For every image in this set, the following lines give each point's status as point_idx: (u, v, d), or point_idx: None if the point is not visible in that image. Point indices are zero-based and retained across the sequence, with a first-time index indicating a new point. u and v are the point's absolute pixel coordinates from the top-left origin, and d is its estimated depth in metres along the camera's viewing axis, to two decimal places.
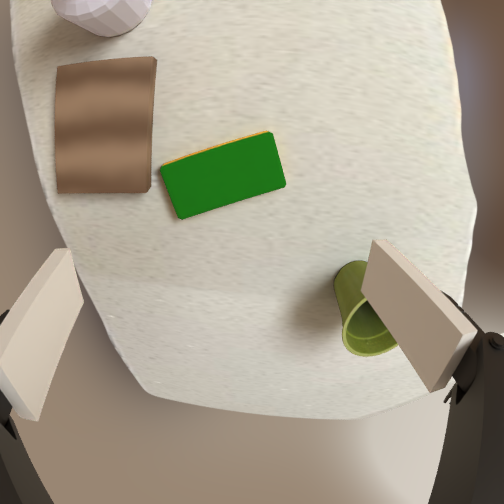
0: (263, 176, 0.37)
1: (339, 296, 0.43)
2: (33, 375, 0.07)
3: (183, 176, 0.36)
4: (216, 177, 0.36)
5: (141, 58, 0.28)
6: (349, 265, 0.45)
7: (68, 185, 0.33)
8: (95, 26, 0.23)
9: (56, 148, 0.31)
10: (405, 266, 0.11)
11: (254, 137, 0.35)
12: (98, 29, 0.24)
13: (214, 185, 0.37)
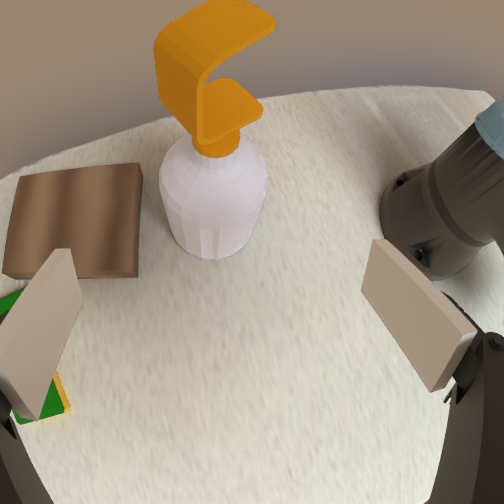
0: None
1: None
2: (33, 375, 0.07)
3: None
4: None
5: (129, 257, 0.29)
6: None
7: (22, 188, 0.29)
8: None
9: (56, 172, 0.30)
10: (405, 266, 0.11)
11: (55, 393, 0.24)
12: None
13: None
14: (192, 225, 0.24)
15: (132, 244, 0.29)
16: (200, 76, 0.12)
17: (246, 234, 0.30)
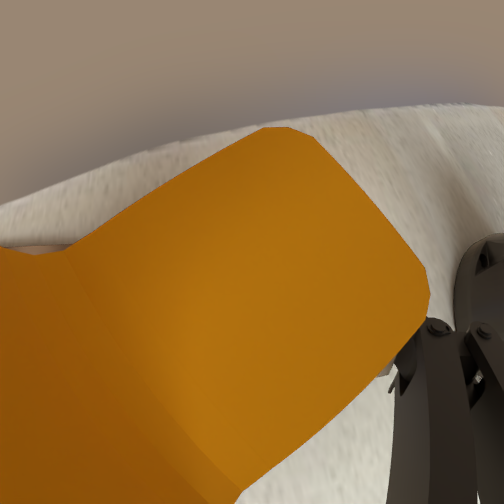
0: None
1: None
2: None
3: None
4: None
5: None
6: None
7: None
8: None
9: None
10: None
11: None
12: None
13: None
14: None
15: None
16: None
17: None
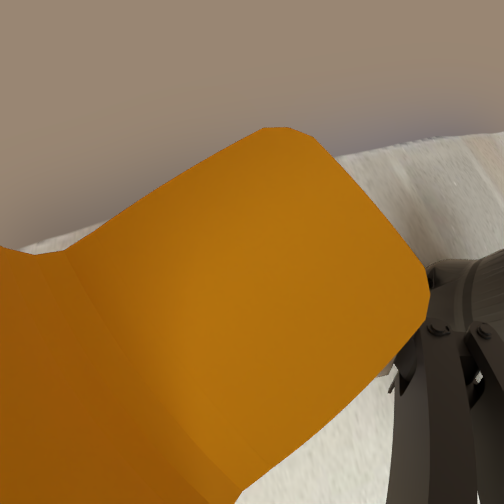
0: None
1: None
2: None
3: None
4: None
5: None
6: None
7: None
8: None
9: None
10: None
11: None
12: None
13: None
14: None
15: None
16: None
17: None
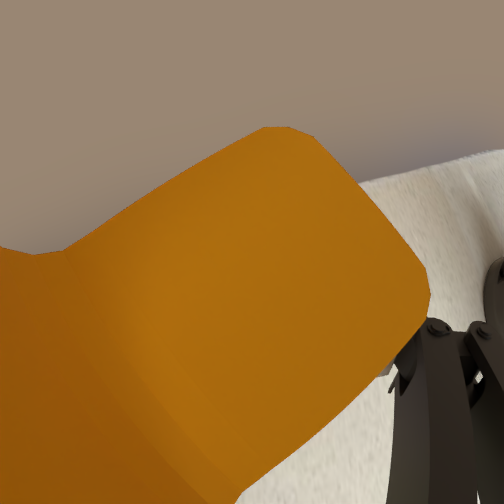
0: None
1: None
2: None
3: None
4: None
5: None
6: None
7: None
8: None
9: None
10: None
11: None
12: None
13: None
14: None
15: None
16: None
17: None
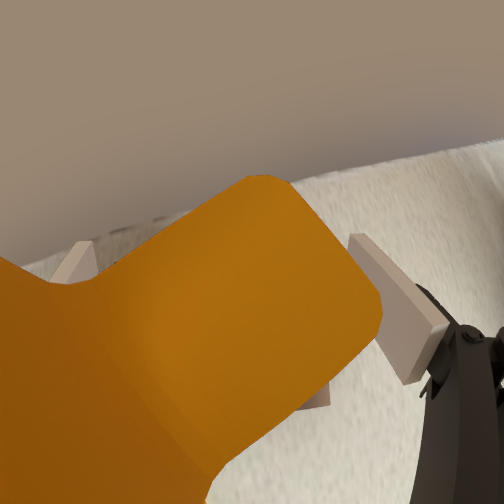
0: None
1: None
2: None
3: None
4: None
5: (327, 390, 0.22)
6: None
7: None
8: None
9: None
10: (380, 259, 0.12)
11: None
12: None
13: None
14: None
15: None
16: None
17: None
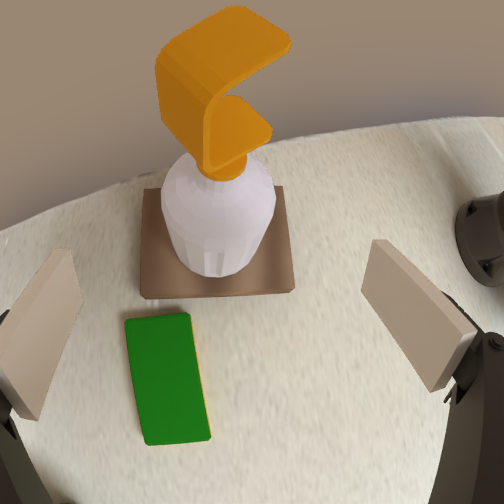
0: (159, 424, 0.28)
1: None
2: (33, 375, 0.07)
3: (173, 337, 0.31)
4: (165, 373, 0.29)
5: (292, 276, 0.33)
6: None
7: (151, 202, 0.34)
8: None
9: None
10: (405, 266, 0.11)
11: (206, 421, 0.29)
12: None
13: (156, 369, 0.29)
14: (196, 248, 0.24)
15: (291, 264, 0.34)
16: (207, 104, 0.11)
17: (251, 253, 0.29)
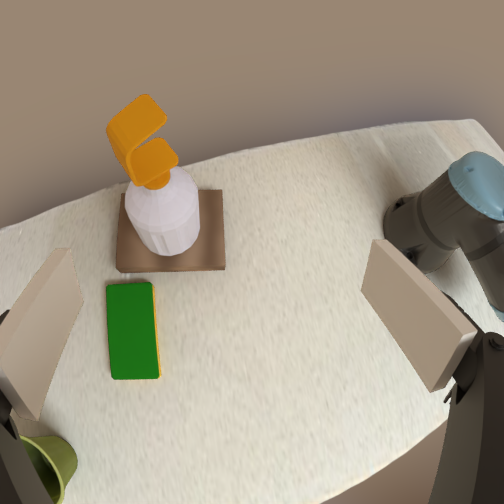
0: (123, 362, 0.40)
1: (42, 437, 0.32)
2: (33, 375, 0.07)
3: (139, 299, 0.43)
4: (131, 325, 0.41)
5: (223, 256, 0.45)
6: (70, 448, 0.35)
7: None
8: None
9: None
10: (405, 266, 0.11)
11: (156, 363, 0.40)
12: None
13: (125, 321, 0.41)
14: (145, 232, 0.36)
15: None
16: (126, 156, 0.23)
17: (188, 237, 0.41)
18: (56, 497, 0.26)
